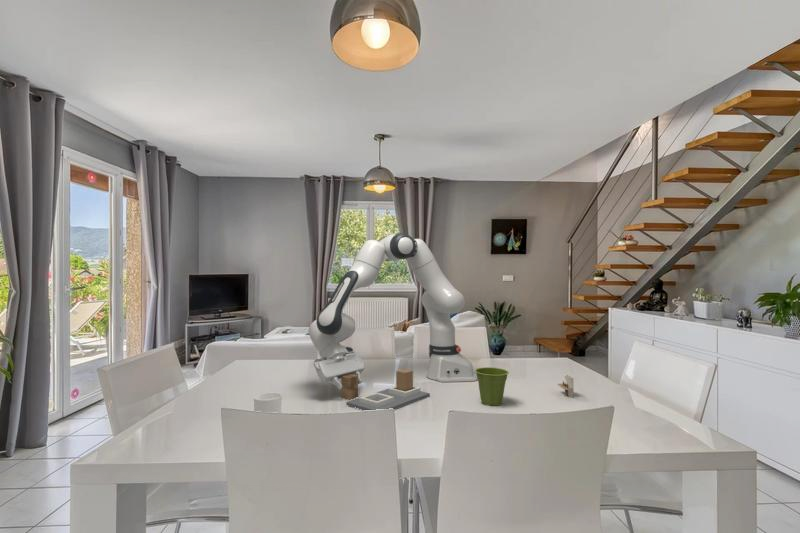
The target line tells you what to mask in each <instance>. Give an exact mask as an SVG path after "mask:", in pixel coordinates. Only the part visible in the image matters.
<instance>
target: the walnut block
mask: <svg viewBox="0 0 800 533" xmlns="http://www.w3.org/2000/svg"><path fill="white" fill-rule="evenodd" d="M340 380H341V381H340V383H343V385H344V388H343V389H340V390H341V395H340V397H341V399H344V400H347V399H348V400H347V401H351V399H352V400H354V398H355V399H357V398H356V397H358V398H359V384H358V376H357V375H353V374H348V375H344V376H341V379H340Z"/></svg>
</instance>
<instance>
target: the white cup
mask: <svg viewBox="0 0 800 533" xmlns="http://www.w3.org/2000/svg"><path fill="white" fill-rule="evenodd" d="M282 396H283V395H282V393H279V392H275V391H274V392H272V391H271V392H262V393H258V394H256V395H254V396H253V409H254V410H253V411H261V412H278V413H281V414H282Z"/></svg>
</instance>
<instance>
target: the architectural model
mask: <svg viewBox="0 0 800 533" xmlns="http://www.w3.org/2000/svg"><path fill="white" fill-rule="evenodd" d="M564 379H565V381H564V380H563V381H562V383H556V384H557V386H558V387H560V388H561V389H562V390H564V393H565V395H566V397H568V398H569V399H570V398H574V395H575V392H574V378H573V377H572V376H570V375H569V374H566V375H565V376H564Z"/></svg>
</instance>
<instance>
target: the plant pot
mask: <svg viewBox="0 0 800 533" xmlns="http://www.w3.org/2000/svg"><path fill="white" fill-rule="evenodd" d="M474 372H475V373H476V374H477V379H478V380H477V383H478V390H479V395H480V397H479V398H480V401H481V403H482V404H483V405H486V406H500V405H502V404H503V399H504V392H505V387H506V381H507V378H508V375H509V373H510V371H508V370H507V369H505V368H500V367H488V366H487V367H477V368H476V369H475V368H474Z"/></svg>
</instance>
